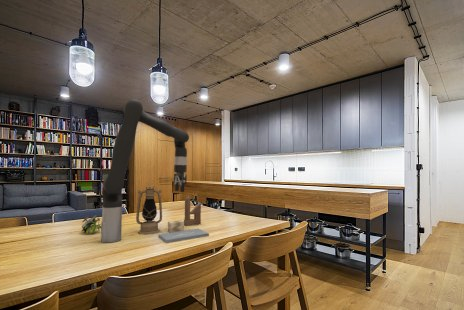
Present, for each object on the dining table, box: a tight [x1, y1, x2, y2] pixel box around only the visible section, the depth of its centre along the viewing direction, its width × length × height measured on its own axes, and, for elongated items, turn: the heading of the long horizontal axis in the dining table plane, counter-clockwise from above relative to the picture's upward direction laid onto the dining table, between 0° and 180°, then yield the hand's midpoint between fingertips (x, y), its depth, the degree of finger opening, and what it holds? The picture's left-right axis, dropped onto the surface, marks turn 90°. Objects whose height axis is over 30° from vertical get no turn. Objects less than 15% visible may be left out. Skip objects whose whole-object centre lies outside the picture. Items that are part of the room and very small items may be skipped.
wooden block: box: [183, 197, 202, 227], centre depth 163 cm, size 4×11×18 cm, turn 119°
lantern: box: [135, 184, 163, 235], centre depth 144 cm, size 14×12×30 cm
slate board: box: [157, 228, 210, 244], centre depth 133 cm, size 24×13×2 cm, turn 124°
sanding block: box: [167, 220, 185, 233], centre depth 143 cm, size 8×5×6 cm, turn 124°
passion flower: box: [81, 215, 101, 235], centre depth 142 cm, size 11×11×12 cm
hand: (179, 191), depth 146 cm, fingers open, 8 cm apart
